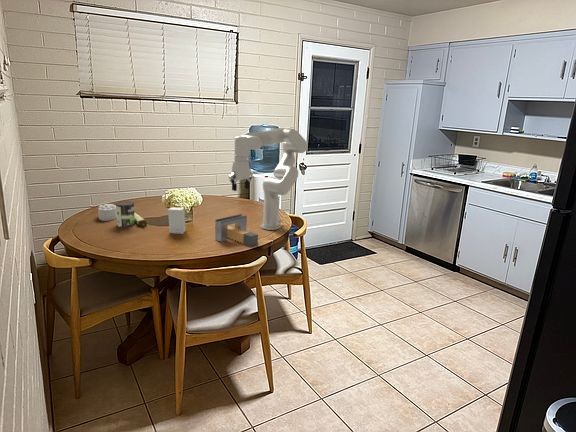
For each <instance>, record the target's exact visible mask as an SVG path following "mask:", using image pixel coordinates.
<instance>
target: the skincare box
mask: <svg viewBox="0 0 576 432" xmlns="http://www.w3.org/2000/svg"><path fill="white" fill-rule="evenodd" d="M185 213H186V211H185V207H173V206H172V207H170V208H168V209H167V216H168V229H169V234H181V235H184V234H185V232H186V218H185V217H186V215H185Z"/></svg>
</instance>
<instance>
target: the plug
mask: <svg viewBox="0 0 576 432" xmlns="http://www.w3.org/2000/svg"><path fill="white" fill-rule="evenodd" d="M227 239H230V240H232V239H233V240H232V241H235V240H236V241H235V242H237V241H239V242H238V243H240V242H241V243H240V244H243V245H244V244H245V246H247V247H250V248H252V247H255V246H258V244H259V243H258V242H259V234H257V233H255V232H252V231H249V232H248V231H246V232H245V231H242V230H240V229H237V228H235V226H234V227H233V226H230V225H228V235H227Z"/></svg>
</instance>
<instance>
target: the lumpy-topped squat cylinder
mask: <svg viewBox="0 0 576 432" xmlns="http://www.w3.org/2000/svg"><path fill="white" fill-rule="evenodd" d="M97 211H98V213H97V214H98V220H100V221H103V222H105V221H106V222H109V221H113V220H115V219H117V213H116V204H112V203H104V204H100V205H98V207H97Z"/></svg>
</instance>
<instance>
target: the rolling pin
mask: <svg viewBox="0 0 576 432" xmlns="http://www.w3.org/2000/svg"><path fill="white" fill-rule="evenodd" d="M134 213H135V224H137V226H138V227H145V226H147V225H148V223H147V221H146V220H145V219H144V218H143V217H141V215H139V214H137V213H136V212H135V211H134Z"/></svg>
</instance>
